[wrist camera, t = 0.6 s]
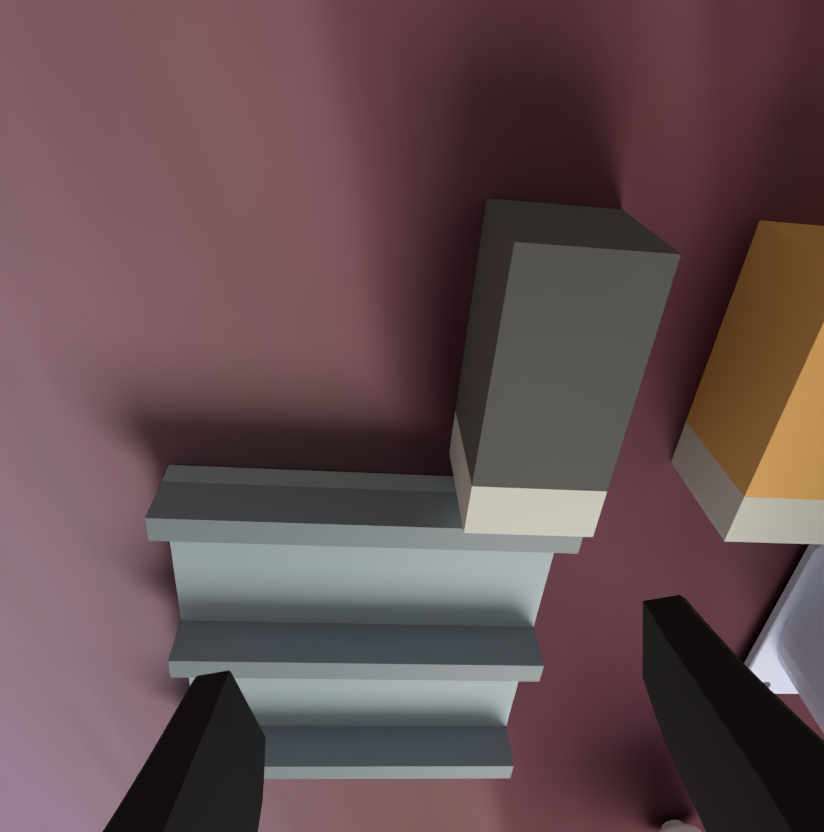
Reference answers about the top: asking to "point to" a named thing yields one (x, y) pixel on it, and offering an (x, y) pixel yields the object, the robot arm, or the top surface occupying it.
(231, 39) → the top surface
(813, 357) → the tall orange block
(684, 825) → the lightbulb
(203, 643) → the slot board
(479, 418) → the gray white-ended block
